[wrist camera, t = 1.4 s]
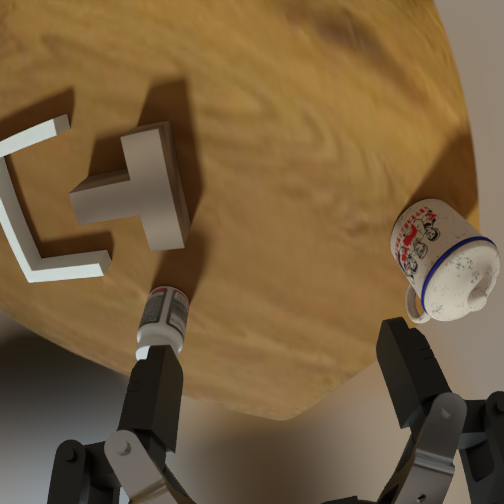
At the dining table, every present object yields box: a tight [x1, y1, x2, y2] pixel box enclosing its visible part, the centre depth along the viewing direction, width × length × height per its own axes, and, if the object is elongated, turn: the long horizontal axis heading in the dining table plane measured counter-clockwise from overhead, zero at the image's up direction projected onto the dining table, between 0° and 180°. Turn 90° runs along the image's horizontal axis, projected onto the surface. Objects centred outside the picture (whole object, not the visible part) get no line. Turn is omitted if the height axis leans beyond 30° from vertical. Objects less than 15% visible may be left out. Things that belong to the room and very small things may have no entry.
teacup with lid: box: [391, 199, 500, 323], centre depth 26 cm, size 12×9×12 cm
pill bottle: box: [136, 286, 189, 361], centre depth 30 cm, size 5×5×8 cm
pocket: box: [0, 114, 112, 283], centre depth 26 cm, size 16×11×2 cm
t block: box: [69, 120, 191, 252], centre depth 25 cm, size 10×9×4 cm
